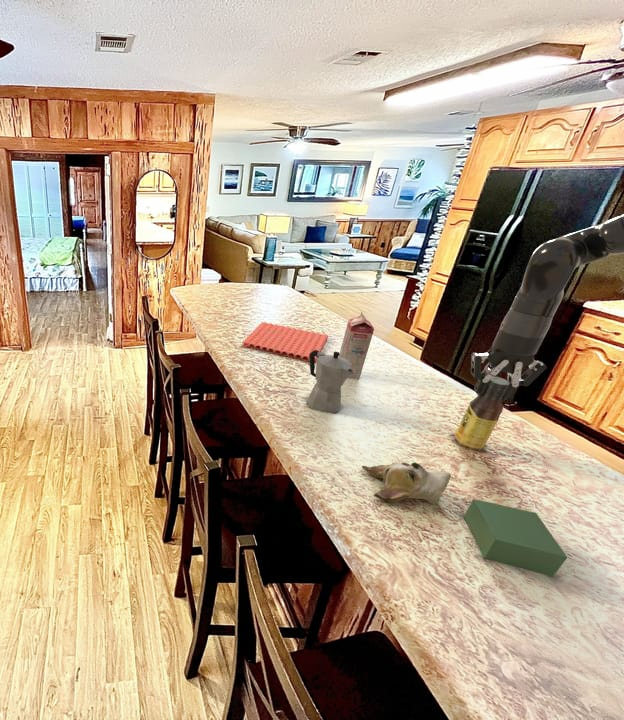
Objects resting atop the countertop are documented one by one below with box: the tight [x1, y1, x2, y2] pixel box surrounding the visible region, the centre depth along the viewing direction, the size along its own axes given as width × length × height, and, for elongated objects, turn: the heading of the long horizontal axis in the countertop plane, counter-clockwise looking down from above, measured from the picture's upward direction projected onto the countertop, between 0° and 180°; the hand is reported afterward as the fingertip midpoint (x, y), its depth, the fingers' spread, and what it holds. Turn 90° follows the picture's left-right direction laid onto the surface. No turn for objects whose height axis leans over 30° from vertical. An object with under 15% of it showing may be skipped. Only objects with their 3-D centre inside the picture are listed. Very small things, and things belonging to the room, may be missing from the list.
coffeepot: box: [306, 350, 355, 414], centre depth 113 cm, size 15×9×18 cm, turn 23°
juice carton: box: [338, 311, 375, 380], centre depth 131 cm, size 7×7×22 cm
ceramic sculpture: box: [361, 462, 452, 505], centre depth 83 cm, size 11×9×15 cm
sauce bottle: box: [453, 376, 510, 451], centre depth 96 cm, size 7×6×20 cm
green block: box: [463, 498, 568, 577], centre depth 71 cm, size 10×10×6 cm
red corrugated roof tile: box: [241, 321, 329, 364], centre depth 159 cm, size 28×28×2 cm
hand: (490, 395), depth 93 cm, fingers open, 4 cm apart
